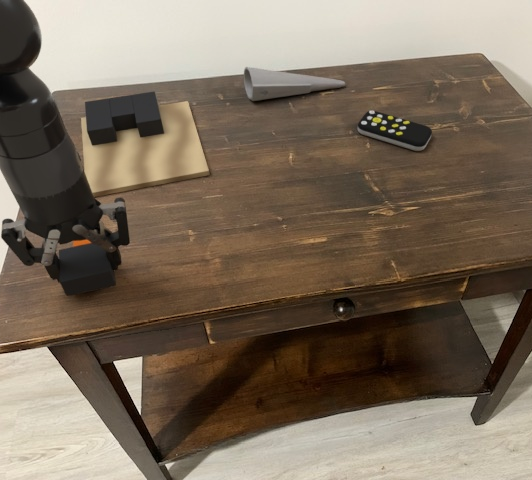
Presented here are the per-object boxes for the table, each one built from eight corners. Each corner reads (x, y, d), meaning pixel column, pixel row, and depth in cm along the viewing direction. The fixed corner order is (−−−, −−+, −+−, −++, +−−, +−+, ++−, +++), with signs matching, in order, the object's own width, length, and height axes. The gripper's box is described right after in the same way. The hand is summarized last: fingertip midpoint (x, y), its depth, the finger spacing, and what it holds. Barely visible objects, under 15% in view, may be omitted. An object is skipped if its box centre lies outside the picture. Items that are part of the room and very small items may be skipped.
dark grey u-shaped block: (92, 145, 89) (86, 131, 87) (89, 116, 95) (84, 101, 93) (164, 133, 92) (161, 119, 90) (157, 105, 98) (154, 91, 96)
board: (87, 198, 82) (85, 193, 81) (82, 122, 95) (80, 117, 95) (209, 175, 87) (208, 170, 86) (188, 105, 100) (187, 100, 99)
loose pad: (66, 296, 67) (59, 282, 65) (65, 249, 73) (58, 234, 71) (115, 285, 69) (110, 271, 67) (110, 240, 74) (105, 225, 72)
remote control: (422, 154, 92) (424, 145, 90) (354, 133, 95) (355, 124, 94) (432, 135, 96) (435, 126, 94) (367, 116, 99) (368, 106, 98)
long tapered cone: (337, 54, 106) (244, 60, 100) (349, 73, 103) (253, 81, 96) (332, 78, 111) (242, 85, 104) (343, 98, 107) (251, 106, 101)
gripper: (-33, 208, 53) (29, 307, 65) (117, 181, 56) (148, 279, 69) (-27, 162, 58) (30, 262, 70) (111, 140, 61) (142, 239, 74)
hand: (88, 270), depth 69 cm, fingers closed on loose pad, 6 cm apart
